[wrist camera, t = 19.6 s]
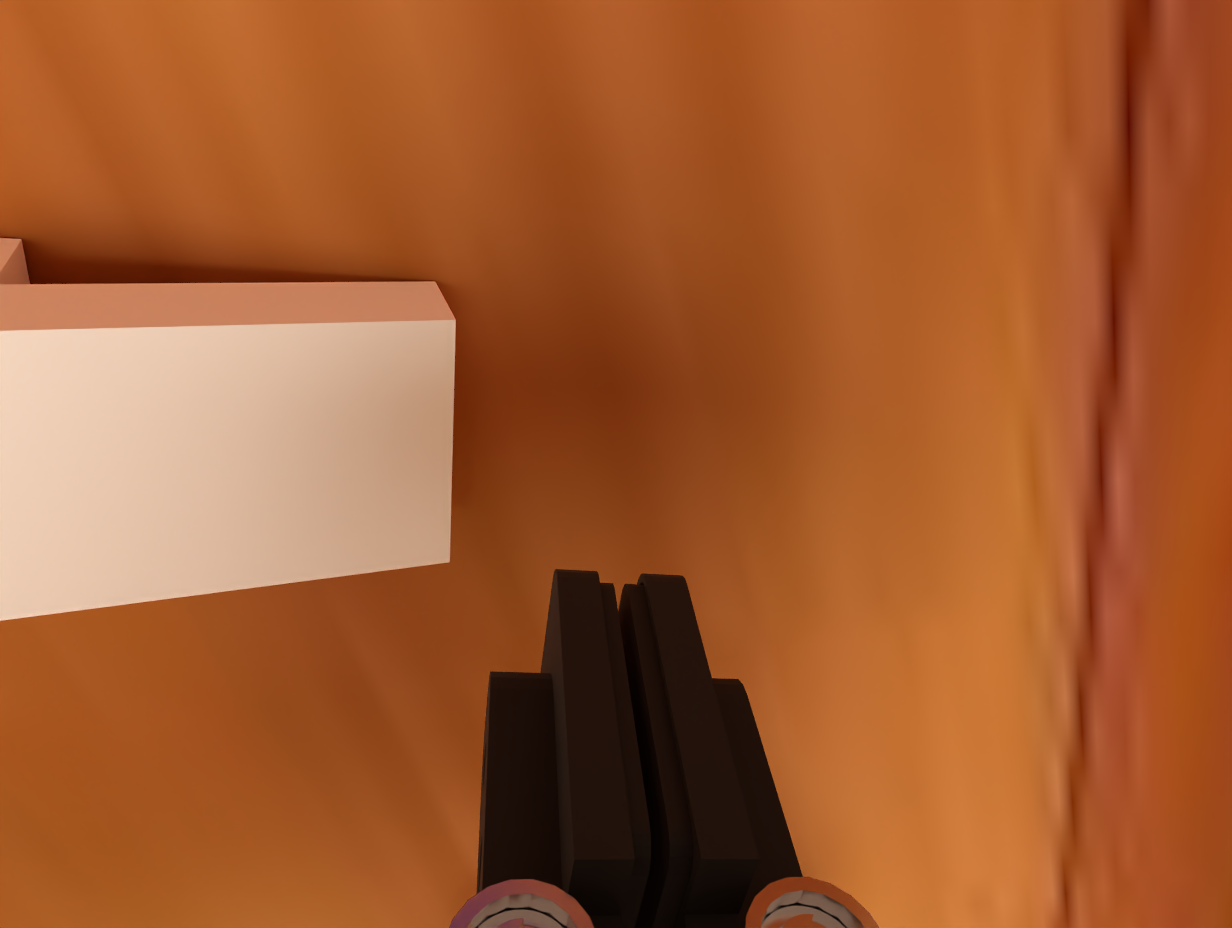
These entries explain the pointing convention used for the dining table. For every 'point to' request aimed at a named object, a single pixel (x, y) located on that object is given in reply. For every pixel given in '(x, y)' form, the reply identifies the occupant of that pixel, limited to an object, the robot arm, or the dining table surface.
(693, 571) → the dining table surface
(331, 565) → the domino
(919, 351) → the dining table surface
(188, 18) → the dining table surface
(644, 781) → the robot arm
